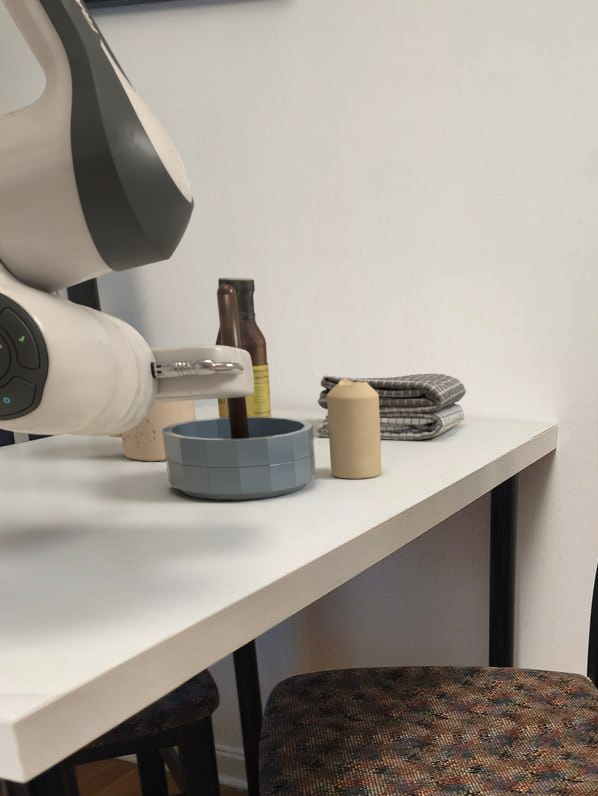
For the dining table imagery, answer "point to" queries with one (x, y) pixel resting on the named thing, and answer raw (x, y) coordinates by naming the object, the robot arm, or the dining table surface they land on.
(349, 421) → the candle
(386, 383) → the towel
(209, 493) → the bowl
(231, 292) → the brown wooden pestle
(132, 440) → the teacup with lid
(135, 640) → the dining table surface
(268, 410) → the sauce bottle
